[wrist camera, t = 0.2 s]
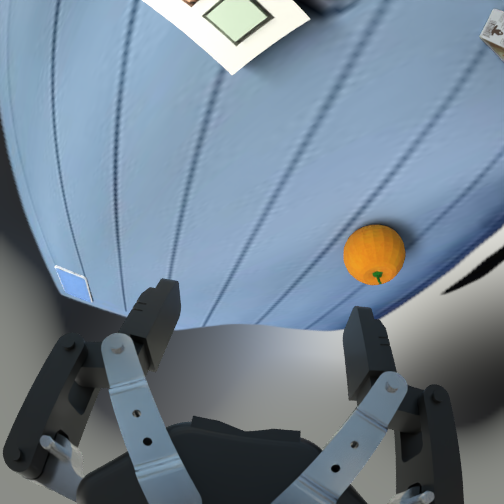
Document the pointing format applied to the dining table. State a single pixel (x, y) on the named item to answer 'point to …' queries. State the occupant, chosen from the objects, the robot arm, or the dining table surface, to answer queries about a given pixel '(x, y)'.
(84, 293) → the tablet computer
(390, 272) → the fruit
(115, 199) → the dining table surface
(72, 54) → the dining table surface
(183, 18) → the keypad frame
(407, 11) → the dining table surface
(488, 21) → the coffee box
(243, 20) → the key sage
